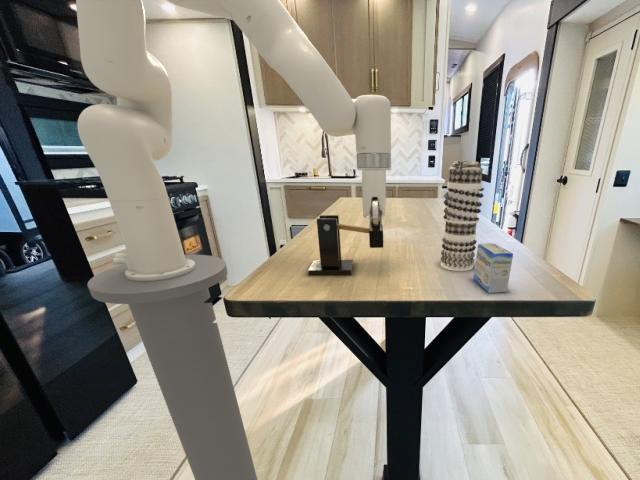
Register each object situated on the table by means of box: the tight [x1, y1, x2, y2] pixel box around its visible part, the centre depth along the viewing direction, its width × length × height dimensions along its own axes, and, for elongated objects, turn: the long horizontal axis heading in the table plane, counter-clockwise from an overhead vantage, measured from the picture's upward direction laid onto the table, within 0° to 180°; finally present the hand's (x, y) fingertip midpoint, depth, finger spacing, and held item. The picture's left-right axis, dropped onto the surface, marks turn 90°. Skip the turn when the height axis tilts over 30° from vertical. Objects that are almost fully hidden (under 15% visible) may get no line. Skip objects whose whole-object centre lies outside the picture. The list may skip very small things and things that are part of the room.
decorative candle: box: [440, 160, 485, 272], centre depth 78 cm, size 9×9×25 cm
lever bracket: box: [307, 214, 354, 276], centre depth 77 cm, size 10×8×13 cm
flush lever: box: [337, 223, 370, 234], centre depth 75 cm, size 13×5×2 cm, turn 93°
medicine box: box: [472, 242, 514, 294], centre depth 69 cm, size 8×4×9 cm, turn 12°
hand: (376, 243), depth 77 cm, fingers closed on flush lever, 5 cm apart
